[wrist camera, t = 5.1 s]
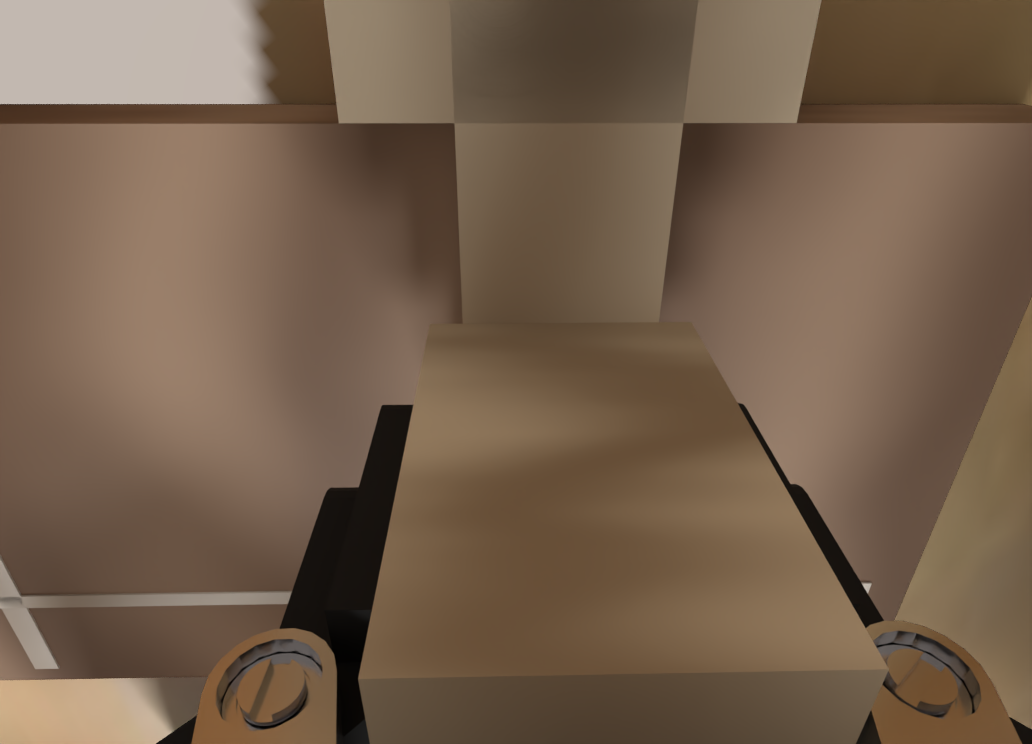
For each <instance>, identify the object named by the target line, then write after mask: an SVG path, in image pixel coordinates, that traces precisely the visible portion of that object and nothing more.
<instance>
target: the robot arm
mask: <svg viewBox="0 0 1032 744" xmlns="http://www.w3.org/2000/svg"><path fill="white" fill-rule="evenodd" d="M738 405H739V407H740V408H741V410H742V412H743V414H744V416H745V417H746V419H747V421H748V423H749V424H750V426H751V428H752V430H753V431H754V433H755V435H756V437H757V438H758V440H759V442H760V444H761V445H762V447H763V449H764V451H765V452H766V454H767V456H768V458H769V459H770V461H771V463H772V465H773V466H774V468H775V470H776V472H777V474H778V475H779V477H780V479H781V481H782V482H783V484H784V486H785V488H786V489H787V491H788V493H789V495H790V496H791V498H792V500H793V502H794V503H795V505H796V507H797V509H798V510H799V512H800V514H801V516H802V517H803V519H804V521H805V523H806V524H807V526H808V528H809V530H810V532H811V533H812V535H813V537H814V539H815V540H816V542H817V544H818V546H819V547H820V549H821V551H822V553H823V554H824V556H825V558H826V560H827V561H828V563H829V565H830V567H831V568H832V570H833V572H834V574H835V575H836V577H837V579H838V581H839V582H840V584H841V586H842V588H843V590H844V591H845V593H846V595H847V597H848V598H849V600H850V602H851V604H852V605H853V607H854V609H855V611H856V612H857V614H858V616H859V618H860V619H861V621H862V623H863V625H864V626H865V628H866V630H867V632H868V633H869V635H870V637H871V639H872V640H873V642H874V644H875V646H876V648H877V649H878V651H879V653H880V655H881V656H882V658H883V660H884V662H885V663H886V665H887V667H888V669H889V670H888V672H887V675H886V677H885V679H884V681H883V684H882V686H881V688H880V691H879V693H878V695H877V697H876V700H875V702H874V704H873V706H872V709H871V711H870V713H869V715H868V718H867V720H866V722H865V724H864V727H863V729H862V731H861V733H860V736H859V738H858V740H857V742H856V744H1032V730H1031V729H1030V728H1028V727H1026V726H1024V725H1023V724H1021V723H1019V722H1017V721H1016V720H1014V719H1012V718H1010V717H1009V716H1008V714H1007V712H1006V709H1005V707H1004V705H1003V703H1002V701H1001V699H1000V697H999V695H998V693H997V691H996V689H995V687H994V685H993V683H992V681H991V680H990V678H989V677H988V675H987V674H986V672H985V671H984V669H983V668H982V666H981V665H980V664H979V663H978V662H977V661H976V660H975V659H974V658H973V657H972V656H971V655H970V654H969V653H968V652H967V651H966V650H965V649H964V648H962V647H961V646H959V645H958V644H956V643H955V642H953V641H952V640H950V639H949V638H947V637H946V636H945V635H942V634H940V633H938V632H936V631H934V630H931V629H929V628H927V627H925V626H921V625H917V624H913V623H909V622H905V621H884V620H883V618H882V616H881V615H880V613H879V611H878V610H877V608H876V606H875V605H874V603H873V601H872V600H871V598H870V596H869V595H868V593H867V591H866V590H865V588H864V586H863V585H862V583H861V581H860V580H859V578H858V577H857V575H856V573H855V572H854V570H853V568H852V567H851V565H850V563H849V562H848V560H847V558H846V557H845V555H844V553H843V552H842V550H841V548H840V547H839V545H838V543H837V542H836V540H835V538H834V537H833V535H832V533H831V532H830V530H829V528H828V527H827V525H826V523H825V522H824V520H823V519H822V517H821V515H820V514H819V512H818V510H817V509H816V507H815V505H814V504H813V502H812V500H811V499H810V497H809V495H808V494H807V492H806V491H805V490H804V489H803V488H802V487H801V486H799V485H797V484H790V482H789V481H788V479H787V477H786V475H785V474H784V472H783V470H782V469H781V467H780V465H779V463H778V462H777V460H776V458H775V456H774V455H773V453H772V451H771V450H770V448H769V446H768V444H767V443H766V441H765V439H764V438H763V436H762V434H761V432H760V431H759V429H758V427H757V426H756V424H755V422H754V420H753V419H752V417H751V415H750V413H749V412H748V410H747V408H746V407H745V406H744V404H742V403H738ZM412 409H413V405H382V406H381V409H380V412H379V416H378V419H377V423H376V427H375V430H374V434H373V438H372V441H371V445H370V448H369V452H368V456H367V459H366V463H365V466H364V470H363V474H362V477H361V481H360V485H359V487H345V488H329V489H328V490H327V492H326V494H325V496H324V499H323V501H322V504H321V507H320V510H319V513H318V516H317V519H316V522H315V525H314V528H313V531H312V534H311V537H310V540H309V543H308V546H307V549H306V552H305V555H304V558H303V561H302V563H301V566H300V569H299V572H298V575H297V578H296V581H295V584H294V587H293V590H292V593H291V596H290V599H289V602H288V605H287V608H286V611H285V614H284V617H283V620H282V623H281V625H280V628H279V629H274V630H271V631H267V632H264V633H260V634H257V635H255V636H253V637H251V638H249V639H247V640H245V641H244V642H242V643H240V644H238V645H236V646H235V647H234V648H233V649H232V650H231V651H229V652H228V653H227V654H226V655H225V656H224V657H222V658H221V659H220V661H219V662H218V663H217V665H216V666H215V667H214V669H213V670H212V671H211V673H210V674H209V676H208V678H207V680H206V683H205V686H204V688H203V691H202V694H201V698H200V703H199V708H198V713H197V716H196V717H194V718H193V719H191V720H190V721H188V722H187V723H185V724H184V725H182V726H181V727H180V728H178V729H177V730H175V731H174V732H172V733H171V734H169V735H168V736H166V737H165V738H164V739H162V740H161V741H159V742H158V743H156V744H370V742H369V736H368V731H367V725H366V720H365V714H364V709H363V703H362V698H361V692H360V687H359V681H358V677H359V672H360V667H361V662H362V657H363V652H364V647H365V642H366V637H367V632H368V627H369V622H370V617H371V612H372V608H373V603H374V598H375V593H376V588H377V583H378V578H379V573H380V568H381V563H382V558H383V553H384V548H385V543H386V538H387V533H388V528H389V523H390V518H391V513H392V508H393V504H394V499H395V494H396V489H397V484H398V479H399V474H400V469H401V464H402V459H403V454H404V449H405V444H406V439H407V434H408V429H409V424H410V419H411V414H412Z"/></svg>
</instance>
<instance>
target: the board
mask: <svg viewBox="0 0 1032 744" xmlns="http://www.w3.org/2000/svg"><path fill="white" fill-rule="evenodd" d="M1031 297H1032V106H1029V105H1025V104H800V108H799V113H798V118H797V123H683V130H682V138H681V146H680V154H679V163H678V171H677V179H676V187H675V195H674V203H673V211H672V219H671V228H670V236H669V244H668V252H667V260H666V268H665V276H664V285H663V293H662V301H661V309H660V317H659V322H692V324H693V326H694V328H695V329H696V331H697V333H698V335H699V336H700V338H701V340H702V342H703V343H704V345H705V347H706V349H707V350H708V352H709V354H710V356H711V358H712V359H713V361H714V363H715V365H716V366H717V368H718V370H719V372H720V373H721V375H722V377H723V379H724V380H725V382H726V384H727V386H728V387H729V389H730V391H731V393H732V394H733V396H734V398H735V400H736V401H737V403H742V404H744V406H745V407H746V408H747V410H748V412H749V413H750V415H751V417H752V419H753V420H754V422H755V424H756V426H757V427H758V429H759V431H760V432H761V434H762V436H763V438H764V439H765V441H766V443H767V444H768V446H769V448H770V450H771V451H772V453H773V455H774V456H775V458H776V460H777V462H778V463H779V465H780V467H781V469H782V470H783V472H784V474H785V475H786V477H787V479H788V481H789V482H790V484H797V485H799V486H801V487H802V488H803V489H804V490H805V491H806V492H807V494H808V495H809V497H810V499H811V500H812V502H813V504H814V505H815V507H816V509H817V510H818V512H819V514H820V515H821V517H822V519H823V520H824V522H825V523H826V525H827V527H828V528H829V530H830V532H831V533H832V535H833V537H834V538H835V540H836V542H837V543H838V545H839V547H840V548H841V550H842V552H843V553H844V555H845V557H846V558H847V560H848V562H849V563H850V565H851V567H852V568H853V570H854V572H855V573H856V575H857V577H858V578H859V580H860V581H861V583H862V585H863V586H864V588H865V590H866V591H867V593H868V595H869V596H870V598H871V600H872V601H873V603H874V605H875V606H876V608H877V610H878V611H879V613H880V615H881V616H882V618H883V620H884V621H894V619H895V617H896V615H897V612H898V610H899V608H900V605H901V603H902V601H903V598H904V596H905V594H906V591H907V589H908V587H909V584H910V582H911V579H912V577H913V575H914V572H915V570H916V568H917V565H918V563H919V561H920V558H921V556H922V554H923V551H924V549H925V547H926V544H927V542H928V540H929V537H930V535H931V532H932V530H933V528H934V525H935V523H936V521H937V518H938V516H939V514H940V511H941V509H942V507H943V504H944V502H945V500H946V497H947V495H948V492H949V490H950V488H951V485H952V483H953V481H954V478H955V476H956V474H957V471H958V469H959V467H960V464H961V462H962V460H963V457H964V455H965V452H966V450H967V448H968V445H969V443H970V441H971V438H972V436H973V434H974V431H975V429H976V427H977V424H978V422H979V420H980V417H981V415H982V413H983V410H984V408H985V405H986V403H987V401H988V398H989V396H990V394H991V391H992V389H993V387H994V384H995V382H996V380H997V377H998V375H999V373H1000V370H1001V368H1002V365H1003V363H1004V361H1005V358H1006V356H1007V354H1008V351H1009V349H1010V347H1011V344H1012V342H1013V340H1014V337H1015V335H1016V333H1017V330H1018V328H1019V325H1020V323H1021V321H1022V318H1023V316H1024V314H1025V311H1026V309H1027V307H1028V304H1029V302H1030V300H1031ZM430 324H463V318H462V294H461V269H460V245H459V220H458V196H457V171H456V147H455V123H339V120H338V112H337V104H0V680H45V679H100V678H156V677H208V676H209V674H210V673H211V671H212V670H213V669H214V667H215V666H216V665H217V663H218V662H219V661H220V659H221V658H222V657H224V656H225V655H226V654H227V653H228V652H229V651H231V650H232V649H233V648H234V647H235V646H236V645H238V644H240V643H242V642H244V641H245V640H247V639H249V638H251V637H253V636H255V635H257V634H260V633H264V632H267V631H271V630H274V629H279V628H280V625H281V623H282V620H283V617H284V614H285V611H286V608H287V605H288V602H289V599H290V596H291V593H292V590H293V587H294V584H295V581H296V578H297V575H298V572H299V569H300V566H301V563H302V561H303V558H304V555H305V552H306V549H307V546H308V543H309V540H310V537H311V534H312V531H313V528H314V525H315V522H316V519H317V516H318V513H319V510H320V507H321V504H322V501H323V499H324V496H325V494H326V492H327V490H328V489H329V488H345V487H359V485H360V481H361V477H362V474H363V470H364V466H365V463H366V459H367V456H368V452H369V448H370V445H371V441H372V438H373V434H374V430H375V427H376V423H377V419H378V416H379V412H380V409H381V406H382V405H414V400H415V395H416V390H417V385H418V380H419V375H420V370H421V365H422V360H423V355H424V350H425V345H426V340H427V335H428V330H429V325H430Z"/></svg>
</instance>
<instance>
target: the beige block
mask: <svg viewBox="0 0 1032 744" xmlns="http://www.w3.org/2000/svg"><path fill="white" fill-rule="evenodd" d="M821 1H822V0H324V7H325V15H326V23H327V31H328V39H329V48H330V56H331V64H332V72H333V80H334V88H335V96H336V104H337V112H338V120H339V123H455V147H456V171H457V196H458V220H459V245H460V269H461V294H462V318H463V324H430V325H429V330H428V335H427V340H426V345H425V350H424V355H423V360H422V365H421V370H420V375H419V380H418V385H417V390H416V395H415V400H414V405H413V409H412V414H411V419H410V424H409V429H408V434H407V439H406V444H405V449H404V454H403V459H402V464H401V469H400V474H399V479H398V484H397V489H396V494H395V499H394V504H393V508H392V513H391V518H390V523H389V528H388V533H387V538H386V543H385V548H384V553H383V558H382V563H381V568H380V573H379V578H378V583H377V588H376V593H375V598H374V603H373V608H372V612H371V617H370V622H369V627H368V632H367V637H366V642H365V647H364V652H363V657H362V662H361V667H360V672H359V677H358V681H359V687H360V692H361V698H362V703H363V709H364V714H365V720H366V725H367V731H368V736H369V742H370V744H856V742H857V740H858V738H859V736H860V733H861V731H862V729H863V727H864V724H865V722H866V720H867V718H868V715H869V713H870V711H871V709H872V706H873V704H874V702H875V700H876V697H877V695H878V693H879V691H880V688H881V686H882V684H883V681H884V679H885V677H886V675H887V672H888V670H889V669H888V667H887V665H886V663H885V662H884V660H883V658H882V656H881V655H880V653H879V651H878V649H877V648H876V646H875V644H874V642H873V640H872V639H871V637H870V635H869V633H868V632H867V630H866V628H865V626H864V625H863V623H862V621H861V619H860V618H859V616H858V614H857V612H856V611H855V609H854V607H853V605H852V604H851V602H850V600H849V598H848V597H847V595H846V593H845V591H844V590H843V588H842V586H841V584H840V582H839V581H838V579H837V577H836V575H835V574H834V572H833V570H832V568H831V567H830V565H829V563H828V561H827V560H826V558H825V556H824V554H823V553H822V551H821V549H820V547H819V546H818V544H817V542H816V540H815V539H814V537H813V535H812V533H811V532H810V530H809V528H808V526H807V524H806V523H805V521H804V519H803V517H802V516H801V514H800V512H799V510H798V509H797V507H796V505H795V503H794V502H793V500H792V498H791V496H790V495H789V493H788V491H787V489H786V488H785V486H784V484H783V482H782V481H781V479H780V477H779V475H778V474H777V472H776V470H775V468H774V466H773V465H772V463H771V461H770V459H769V458H768V456H767V454H766V452H765V451H764V449H763V447H762V445H761V444H760V442H759V440H758V438H757V437H756V435H755V433H754V431H753V430H752V428H751V426H750V424H749V423H748V421H747V419H746V417H745V416H744V414H743V412H742V410H741V408H740V407H739V405H738V403H737V401H736V400H735V398H734V396H733V394H732V393H731V391H730V389H729V387H728V386H727V384H726V382H725V380H724V379H723V377H722V375H721V373H720V372H719V370H718V368H717V366H716V365H715V363H714V361H713V359H712V358H711V356H710V354H709V352H708V350H707V349H706V347H705V345H704V343H703V342H702V340H701V338H700V336H699V335H698V333H697V331H696V329H695V328H694V326H693V324H692V322H659V317H660V309H661V301H662V293H663V285H664V276H665V268H666V260H667V252H668V244H669V236H670V228H671V219H672V211H673V203H674V195H675V187H676V179H677V171H678V163H679V154H680V146H681V138H682V130H683V123H797V118H798V113H799V108H800V104H801V99H802V94H803V89H804V84H805V79H806V74H807V69H808V64H809V59H810V54H811V50H812V45H813V40H814V35H815V30H816V25H817V20H818V15H819V10H820V5H821Z"/></svg>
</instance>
